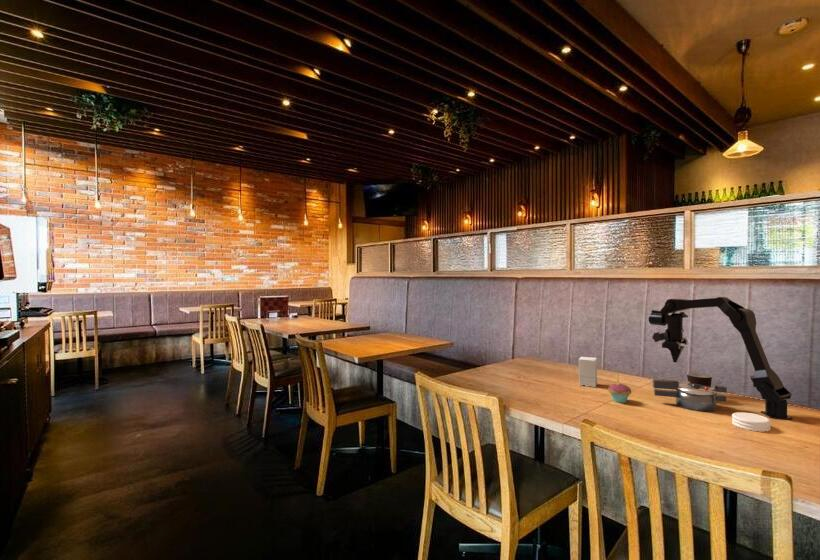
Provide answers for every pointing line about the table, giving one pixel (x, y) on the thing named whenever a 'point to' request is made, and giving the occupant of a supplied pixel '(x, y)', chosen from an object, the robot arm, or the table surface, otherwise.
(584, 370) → the supplement box
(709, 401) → the pot
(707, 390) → the lid
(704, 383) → the coffee mug
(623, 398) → the cupcake
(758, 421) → the coaster
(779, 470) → the table surface
